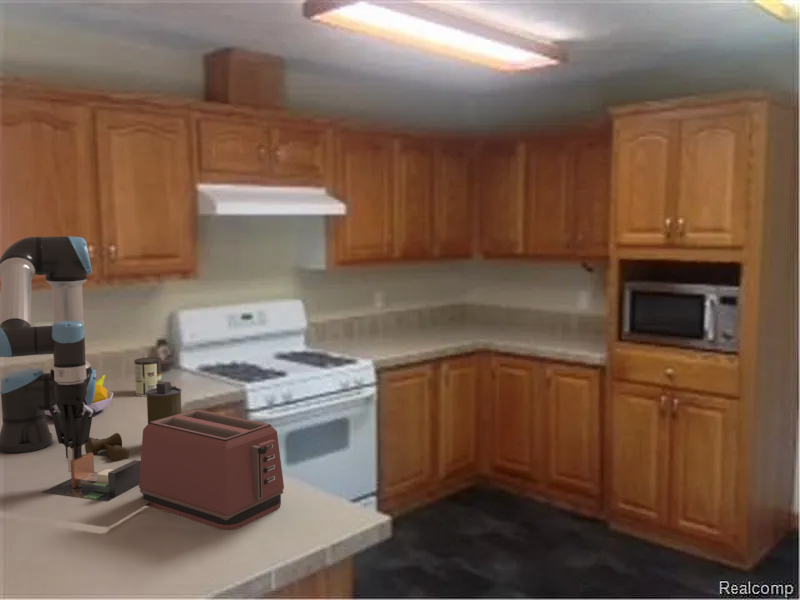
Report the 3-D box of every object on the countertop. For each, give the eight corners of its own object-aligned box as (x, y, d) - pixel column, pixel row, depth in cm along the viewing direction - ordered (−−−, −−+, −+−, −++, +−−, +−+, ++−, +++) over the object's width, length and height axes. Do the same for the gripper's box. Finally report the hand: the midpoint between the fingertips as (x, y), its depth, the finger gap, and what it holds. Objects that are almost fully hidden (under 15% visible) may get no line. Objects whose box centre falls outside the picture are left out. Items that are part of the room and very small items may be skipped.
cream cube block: (97, 489, 180) (96, 473, 180) (107, 483, 184) (107, 468, 183) (110, 490, 179) (109, 475, 178) (120, 485, 183) (120, 470, 182)
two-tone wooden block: (71, 487, 180) (70, 460, 180) (91, 478, 187) (90, 452, 186) (92, 490, 179) (91, 463, 178) (111, 480, 185) (110, 454, 184)
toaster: (235, 535, 156) (233, 445, 154) (137, 503, 174) (133, 422, 172) (293, 506, 172) (291, 425, 170) (197, 479, 190) (195, 405, 188)
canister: (172, 451, 213) (170, 387, 211) (141, 449, 216) (138, 385, 213) (190, 441, 224) (188, 379, 222) (160, 439, 226) (157, 377, 224)
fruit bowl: (58, 427, 239) (57, 395, 238) (20, 414, 255) (19, 384, 254) (133, 410, 261) (132, 380, 260) (94, 399, 277) (93, 371, 276)
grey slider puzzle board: (41, 496, 178) (39, 469, 177) (86, 475, 193) (85, 450, 192) (107, 506, 172) (106, 477, 171) (149, 483, 187) (148, 457, 186)
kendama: (103, 470, 199) (80, 451, 214) (137, 463, 206) (112, 445, 220) (103, 449, 198) (79, 432, 213) (137, 443, 205) (112, 427, 220)
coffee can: (151, 389, 295) (149, 356, 293) (167, 392, 289) (166, 358, 288) (130, 394, 286) (128, 360, 285) (146, 397, 281) (145, 362, 279)
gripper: (38, 382, 180) (43, 472, 182) (80, 386, 176) (84, 478, 178) (61, 376, 187) (65, 463, 189) (101, 380, 183) (105, 468, 185)
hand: (74, 470), depth 184 cm, fingers closed
